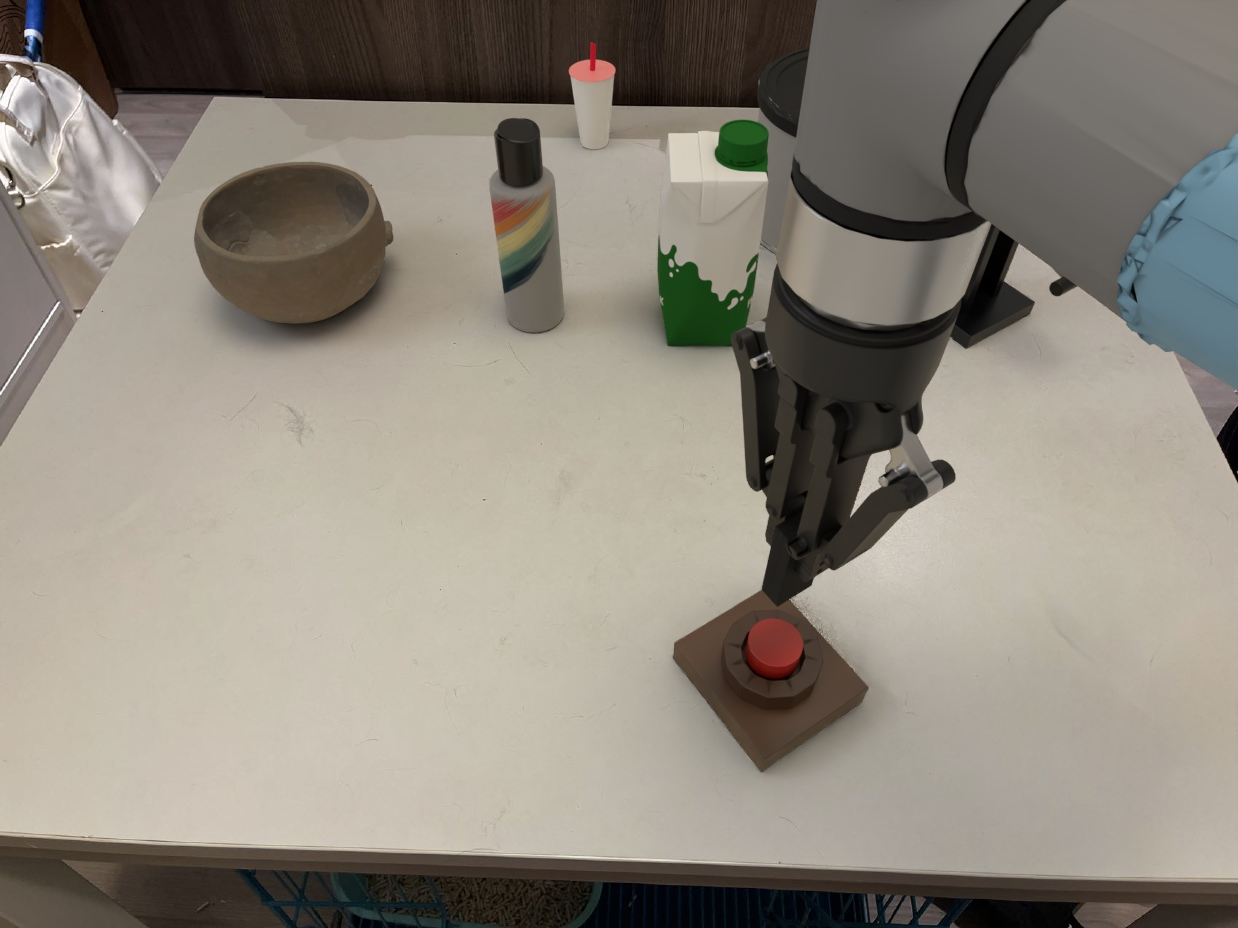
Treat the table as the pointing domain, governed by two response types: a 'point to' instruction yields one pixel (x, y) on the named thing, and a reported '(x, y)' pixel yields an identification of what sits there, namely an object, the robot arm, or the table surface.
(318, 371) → the table surface
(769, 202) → the container
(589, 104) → the cup
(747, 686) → the control block
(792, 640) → the red push button
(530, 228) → the lotion bottle
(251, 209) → the bowl
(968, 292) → the black lever switch
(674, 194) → the milk carton
